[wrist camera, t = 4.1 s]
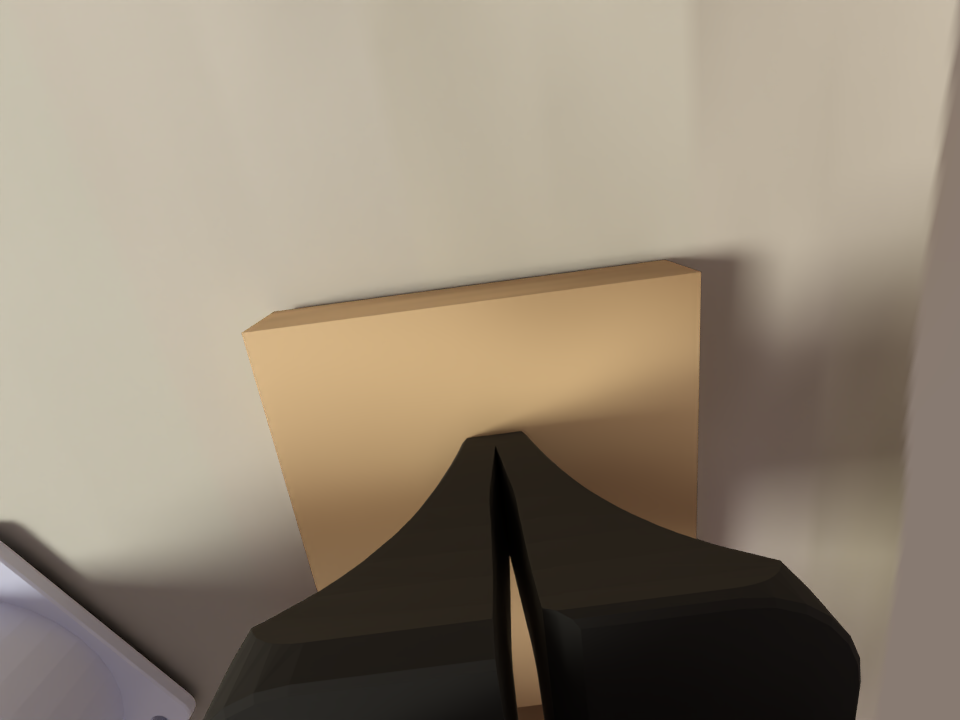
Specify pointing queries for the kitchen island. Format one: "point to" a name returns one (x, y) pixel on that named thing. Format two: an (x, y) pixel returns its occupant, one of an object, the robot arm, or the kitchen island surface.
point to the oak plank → (483, 402)
